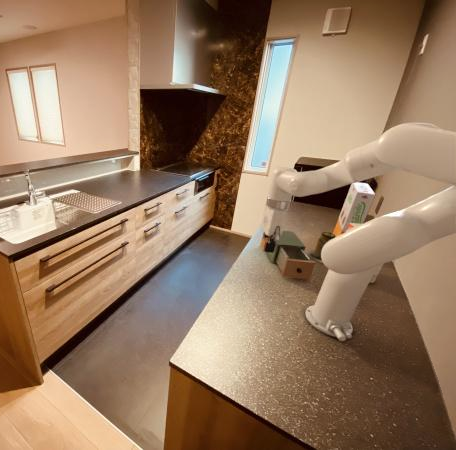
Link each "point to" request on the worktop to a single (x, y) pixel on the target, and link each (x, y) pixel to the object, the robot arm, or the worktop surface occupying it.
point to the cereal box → (354, 207)
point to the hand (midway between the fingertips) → (267, 248)
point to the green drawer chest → (286, 243)
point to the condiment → (321, 246)
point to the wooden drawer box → (294, 262)
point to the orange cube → (264, 243)
